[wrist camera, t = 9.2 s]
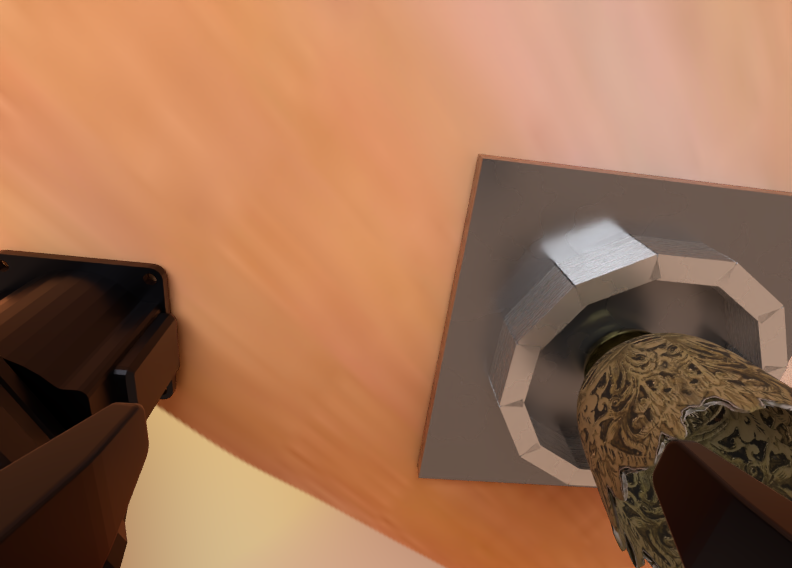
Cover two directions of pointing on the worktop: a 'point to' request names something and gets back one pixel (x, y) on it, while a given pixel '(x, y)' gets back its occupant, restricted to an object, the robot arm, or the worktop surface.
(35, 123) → the worktop surface
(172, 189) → the worktop surface
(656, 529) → the cup
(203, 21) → the worktop surface
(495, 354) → the cup bracket
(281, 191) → the worktop surface
